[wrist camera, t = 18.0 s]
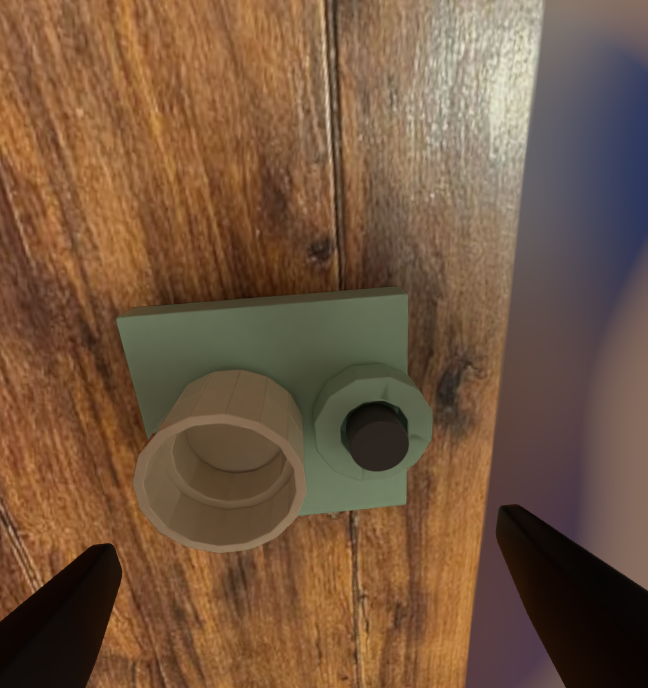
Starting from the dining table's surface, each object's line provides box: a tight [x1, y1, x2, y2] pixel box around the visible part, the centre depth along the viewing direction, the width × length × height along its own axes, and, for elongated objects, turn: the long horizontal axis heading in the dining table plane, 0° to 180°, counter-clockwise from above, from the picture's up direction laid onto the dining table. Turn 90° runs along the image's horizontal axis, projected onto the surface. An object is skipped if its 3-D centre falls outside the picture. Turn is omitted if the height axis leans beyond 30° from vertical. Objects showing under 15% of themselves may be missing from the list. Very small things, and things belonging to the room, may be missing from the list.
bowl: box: [132, 370, 306, 553], centre depth 16 cm, size 6×6×4 cm
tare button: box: [346, 404, 409, 472], centre depth 17 cm, size 3×3×2 cm
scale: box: [116, 286, 433, 516], centre depth 19 cm, size 14×12×4 cm
